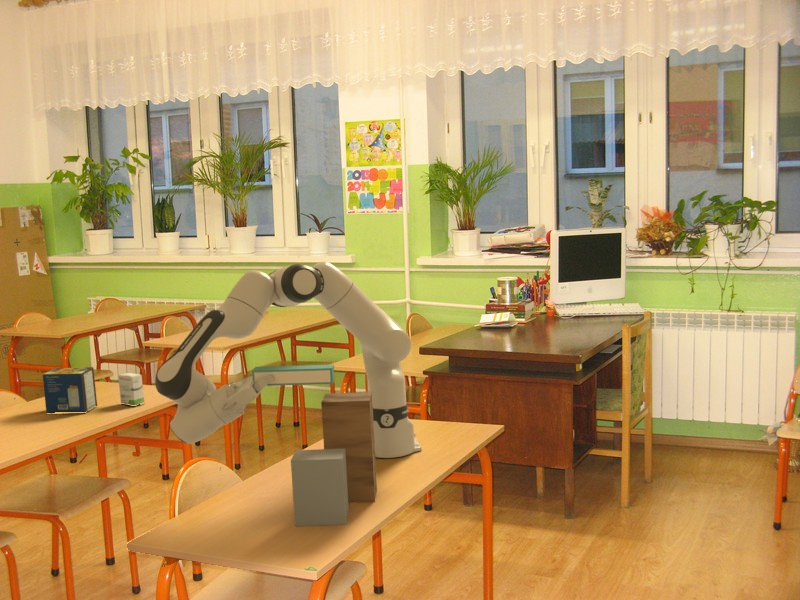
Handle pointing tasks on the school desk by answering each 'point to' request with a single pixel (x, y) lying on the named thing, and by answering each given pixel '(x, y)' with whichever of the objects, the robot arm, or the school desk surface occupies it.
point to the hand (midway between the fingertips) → (274, 374)
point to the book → (296, 374)
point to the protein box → (69, 390)
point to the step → (320, 487)
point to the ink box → (131, 388)
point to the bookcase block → (352, 440)
